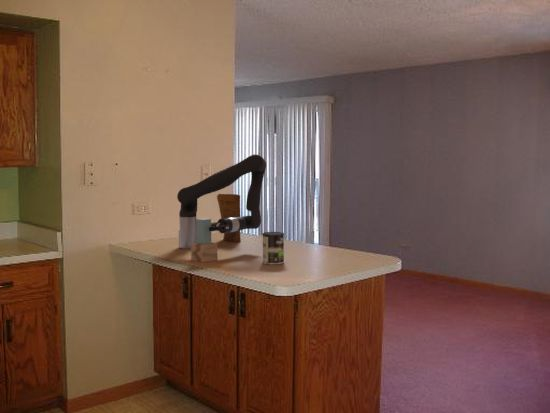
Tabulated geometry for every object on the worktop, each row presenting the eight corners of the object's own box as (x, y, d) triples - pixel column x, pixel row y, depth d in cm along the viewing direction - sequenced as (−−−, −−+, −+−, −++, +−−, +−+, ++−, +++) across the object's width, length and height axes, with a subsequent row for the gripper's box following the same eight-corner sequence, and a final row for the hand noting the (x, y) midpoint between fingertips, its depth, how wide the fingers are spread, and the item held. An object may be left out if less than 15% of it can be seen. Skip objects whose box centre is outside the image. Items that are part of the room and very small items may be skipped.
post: (196, 243, 276) (196, 219, 275) (204, 242, 280) (204, 218, 279) (203, 244, 273) (203, 219, 272) (211, 243, 277) (211, 219, 275)
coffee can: (288, 261, 271) (288, 232, 270) (276, 265, 263) (276, 235, 261) (270, 259, 277) (269, 231, 275) (258, 263, 268) (258, 233, 267)
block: (191, 259, 277) (190, 243, 276) (205, 257, 283) (205, 241, 283) (203, 262, 271) (203, 245, 270) (217, 259, 277) (217, 243, 277)
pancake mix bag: (236, 243, 328) (235, 194, 325) (216, 239, 342) (215, 193, 339) (245, 242, 332) (244, 194, 329) (225, 238, 346) (224, 192, 343)
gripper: (218, 216, 292) (194, 219, 280) (238, 218, 283) (213, 221, 271) (218, 231, 293) (194, 234, 281) (238, 233, 283) (213, 237, 271)
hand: (203, 228), depth 276 cm, fingers open, 8 cm apart
